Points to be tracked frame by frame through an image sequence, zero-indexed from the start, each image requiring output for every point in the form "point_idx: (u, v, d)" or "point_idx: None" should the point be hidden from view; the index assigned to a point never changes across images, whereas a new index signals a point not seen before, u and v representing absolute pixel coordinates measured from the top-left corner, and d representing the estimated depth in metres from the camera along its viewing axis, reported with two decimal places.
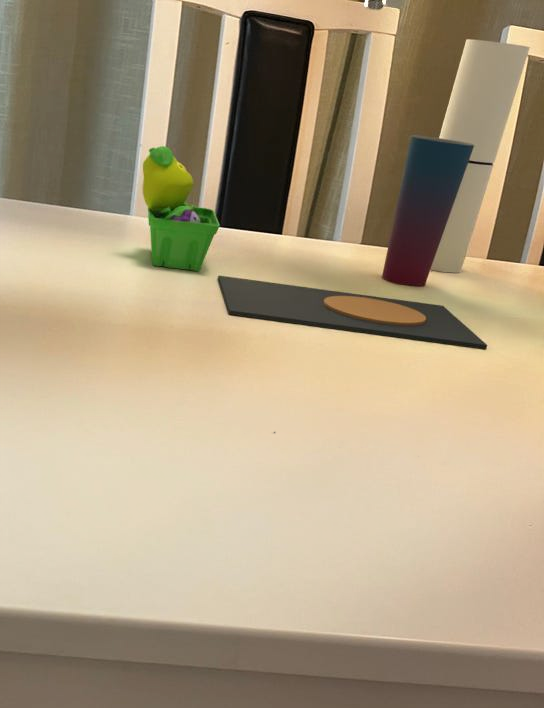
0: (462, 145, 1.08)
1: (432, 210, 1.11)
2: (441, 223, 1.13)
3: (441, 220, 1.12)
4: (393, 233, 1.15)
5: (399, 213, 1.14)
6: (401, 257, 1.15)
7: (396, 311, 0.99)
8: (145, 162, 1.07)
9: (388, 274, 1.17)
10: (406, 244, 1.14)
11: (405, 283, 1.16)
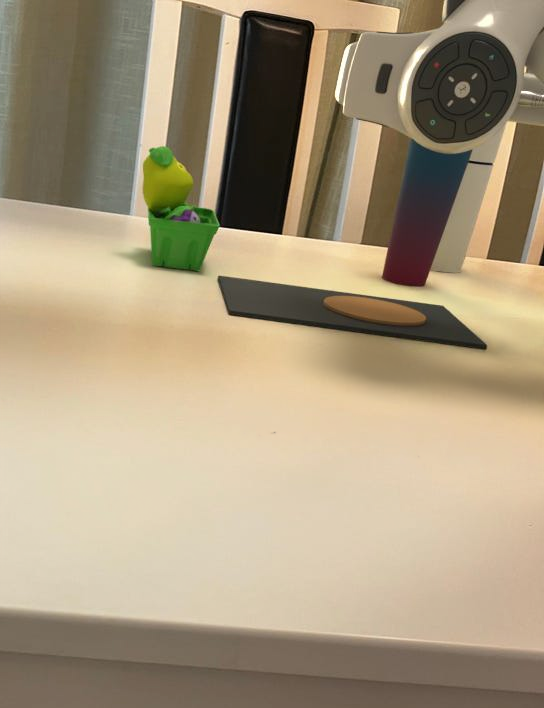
0: None
1: (432, 210, 1.11)
2: (441, 223, 1.13)
3: (441, 220, 1.12)
4: (393, 233, 1.15)
5: (399, 213, 1.14)
6: (401, 257, 1.15)
7: (396, 311, 0.99)
8: (145, 162, 1.07)
9: (388, 274, 1.17)
10: (406, 244, 1.14)
11: (405, 283, 1.16)
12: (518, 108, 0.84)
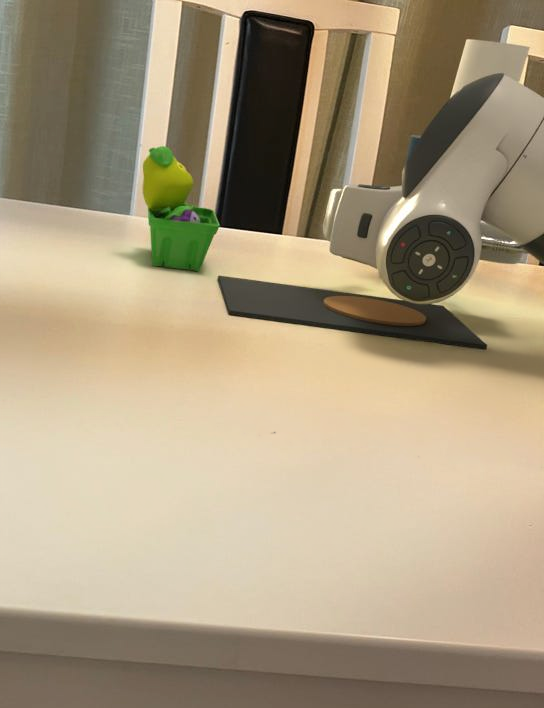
0: None
1: None
2: None
3: None
4: None
5: None
6: None
7: (396, 311, 0.99)
8: (145, 162, 1.07)
9: None
10: None
11: None
12: (482, 249, 0.97)
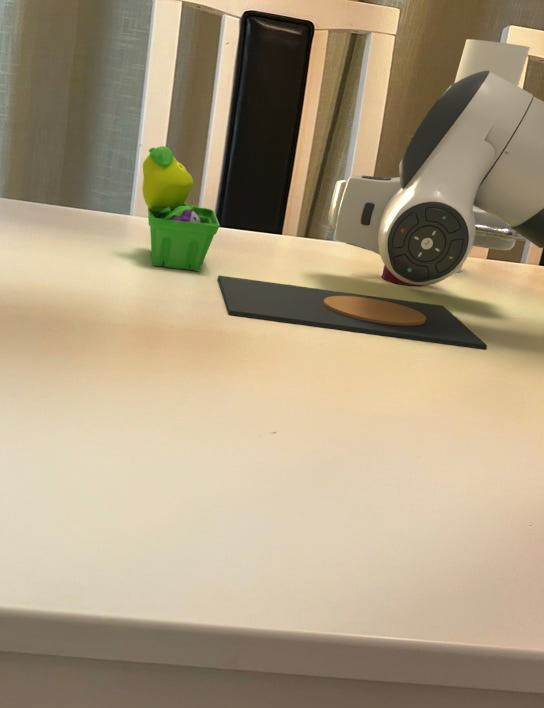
0: None
1: None
2: None
3: None
4: None
5: None
6: None
7: (396, 311, 0.99)
8: (145, 162, 1.07)
9: (388, 274, 1.17)
10: None
11: (405, 283, 1.16)
12: (476, 236, 1.04)
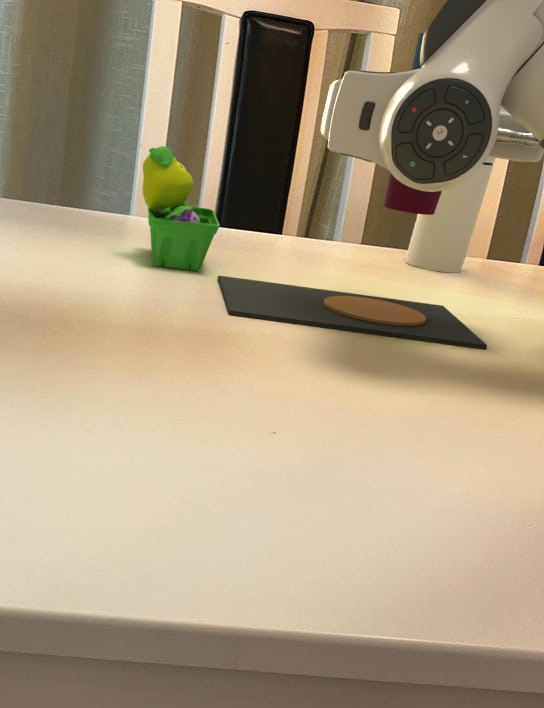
0: None
1: None
2: None
3: None
4: None
5: None
6: None
7: (396, 311, 0.99)
8: (145, 162, 1.07)
9: (391, 201, 1.00)
10: None
11: (411, 211, 0.99)
12: (497, 144, 0.87)
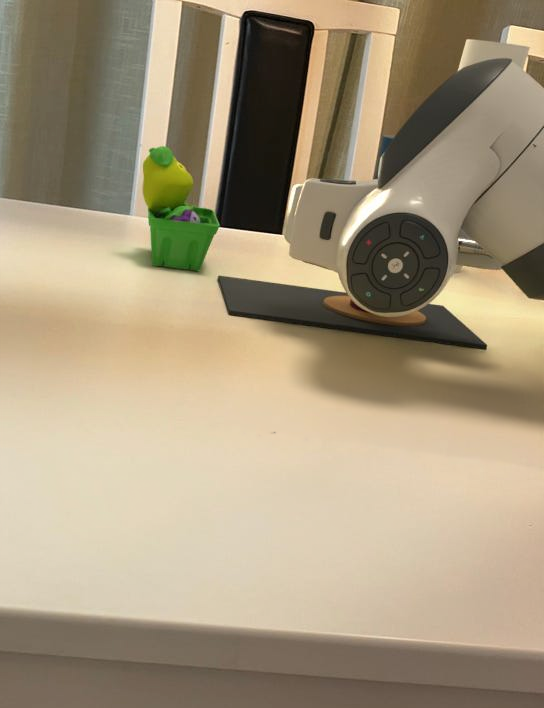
0: None
1: None
2: None
3: None
4: None
5: None
6: None
7: None
8: (145, 162, 1.07)
9: None
10: None
11: None
12: (462, 253, 0.85)
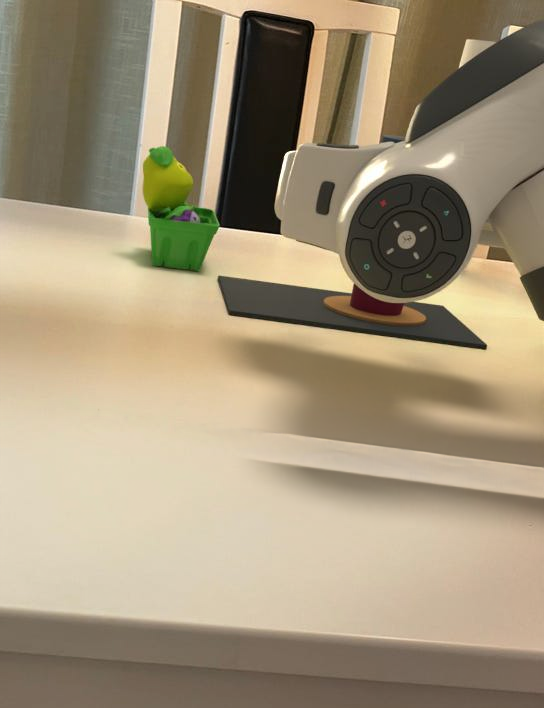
0: None
1: None
2: None
3: None
4: None
5: None
6: None
7: None
8: (145, 162, 1.07)
9: (356, 301, 0.98)
10: None
11: (377, 312, 0.97)
12: (482, 230, 0.72)
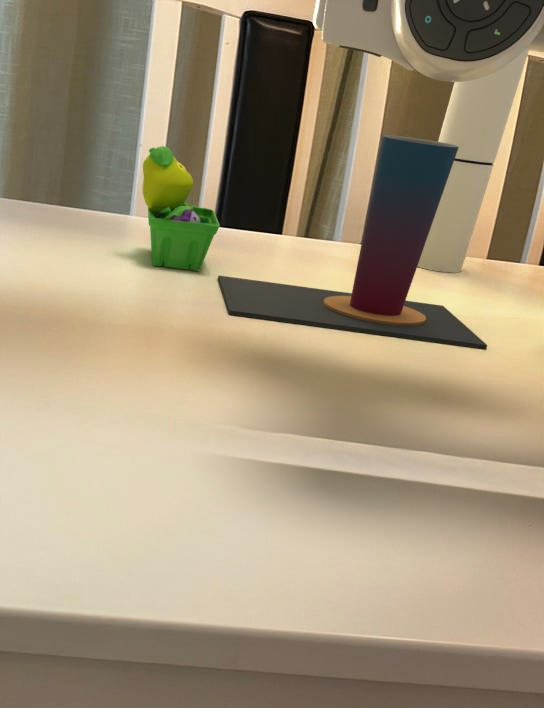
0: (444, 147, 0.89)
1: (408, 225, 0.92)
2: (419, 241, 0.93)
3: (419, 237, 0.93)
4: (362, 252, 0.96)
5: (369, 229, 0.94)
6: (371, 281, 0.96)
7: None
8: (145, 162, 1.07)
9: (356, 301, 0.98)
10: (377, 266, 0.95)
11: (377, 312, 0.97)
12: None
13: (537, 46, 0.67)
